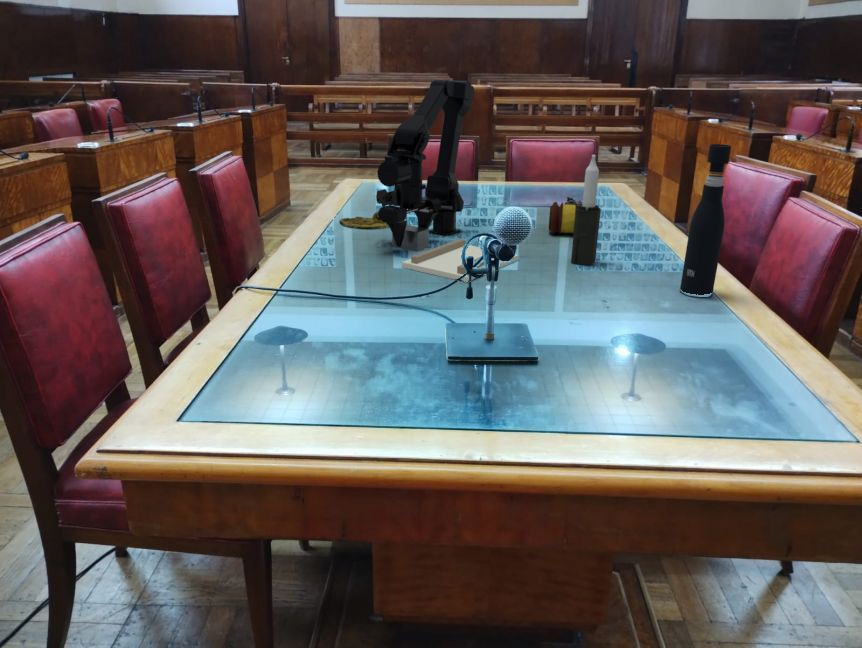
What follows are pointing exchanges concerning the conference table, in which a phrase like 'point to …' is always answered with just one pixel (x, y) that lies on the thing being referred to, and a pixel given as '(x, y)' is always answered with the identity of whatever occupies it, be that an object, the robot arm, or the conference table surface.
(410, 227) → the block
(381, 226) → the seal
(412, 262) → the plate
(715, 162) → the black water bottle
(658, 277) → the conference table surface
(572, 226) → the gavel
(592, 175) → the candle
